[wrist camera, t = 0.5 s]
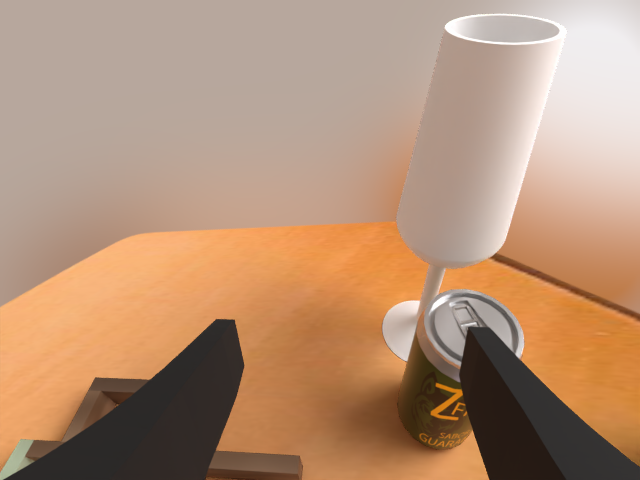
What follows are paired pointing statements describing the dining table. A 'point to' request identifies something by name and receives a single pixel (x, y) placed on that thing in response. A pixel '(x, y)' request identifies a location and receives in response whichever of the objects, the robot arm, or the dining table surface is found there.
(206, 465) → the robot arm
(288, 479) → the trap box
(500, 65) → the champagne flute
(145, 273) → the dining table surface
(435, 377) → the beer can
